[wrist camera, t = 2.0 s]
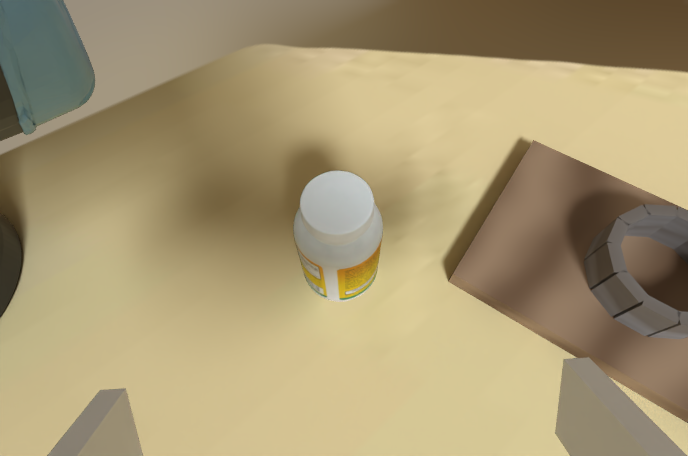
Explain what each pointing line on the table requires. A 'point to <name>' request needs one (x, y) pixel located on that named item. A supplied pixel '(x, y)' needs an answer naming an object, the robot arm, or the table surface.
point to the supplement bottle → (338, 235)
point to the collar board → (555, 275)
